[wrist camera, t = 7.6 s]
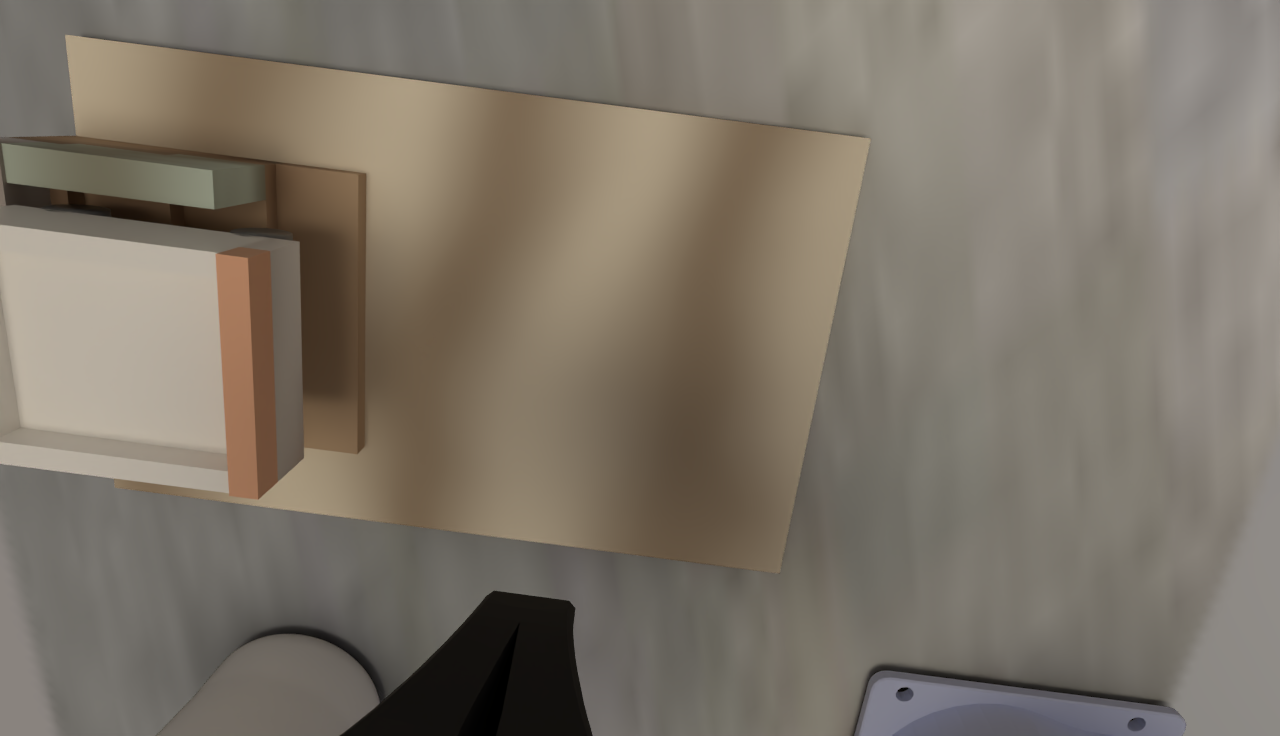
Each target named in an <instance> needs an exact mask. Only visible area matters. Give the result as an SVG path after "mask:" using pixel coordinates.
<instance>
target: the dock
mask: <svg viewBox="0 0 1280 736" xmlns="http://www.w3.org/2000/svg"><path fill="white" fill-rule="evenodd" d="M65 37H66V47H67V56H68V65H69V74H70V83H71V92H72V101H73V110H74V119H75V128H76V136H47V137H0V207H1V206H9V205H20V206H28V207H35V208H41V207H43V206H48V205H59V204H78V205H93V206H101V207H106V208H109V209H111V216H112V217H113V218H120V219H128V220H136V221H144V222H151V223H159V224H167V225H175V226H182V227H190V228H198V229H206V230H213V231H221V232H229V233H230V231H231V230H233V229H238V228H271V229H279V230H284V231H288V232H291V233H292V234H293V241H298V242H300V290H301V337H302V385H303V432H304V459H303V460H302V461H300V462H299V463H298V464H297V465H296V466H295V467H294V468H293V469H292V470H290V471H289V472H288V473H287V474H286V475H285V476H284V477H283V478H282V479H281V480H279V481H278V482H277V483H276V484H275V485H274V486H273V487H272V488H271V489H270V490H268V491H267V492H266V493H265V494H264V495H263V496H262V497H261V498H260V499H259V500H256V499H249V498H241V497H233V496H229V493H223V492H215V491H207V490H200V489H192V488H184V487H176V486H169V485H161V484H153V483H146V482H138V481H130V480H122V479H115V478H114V483H115V488H122V489H130V490H138V491H146V492H153V493H161V494H169V495H176V496H184V497H192V498H200V499H207V500H215V501H223V502H230V503H238V504H246V505H254V506H261V507H269V508H277V509H284V510H292V511H300V512H308V513H315V514H323V515H331V516H339V517H346V518H354V519H362V520H369V521H377V522H385V523H393V524H400V525H408V526H416V527H423V528H431V529H439V530H447V531H454V532H462V533H470V534H477V535H485V536H493V537H501V538H508V539H516V540H524V541H531V542H539V543H547V544H555V545H562V546H570V547H578V548H585V549H593V550H601V551H609V552H616V553H624V554H632V555H639V556H647V557H655V558H663V559H670V560H678V561H686V562H693V563H701V564H709V565H717V566H724V567H732V568H740V569H747V570H755V571H763V572H771V573H778V574H780V569H781V564H782V560H783V555H784V550H785V545H786V540H787V536H788V531H789V526H790V521H791V517H792V512H793V507H794V502H795V498H796V493H797V488H798V483H799V479H800V474H801V469H802V464H803V460H804V455H805V450H806V445H807V440H808V436H809V431H810V426H811V421H812V417H813V412H814V407H815V402H816V398H817V393H818V388H819V383H820V379H821V374H822V369H823V364H824V360H825V355H826V350H827V345H828V340H829V336H830V331H831V326H832V321H833V317H834V312H835V307H836V302H837V298H838V293H839V288H840V283H841V279H842V274H843V269H844V264H845V260H846V255H847V250H848V245H849V241H850V236H851V231H852V226H853V221H854V217H855V212H856V207H857V202H858V198H859V193H860V188H861V183H862V179H863V174H864V169H865V164H866V160H867V155H868V150H869V145H870V141H871V139H870V138H862V137H854V136H846V135H839V134H831V133H823V132H815V131H808V130H800V129H792V128H784V127H777V126H769V125H761V124H753V123H746V122H738V121H730V120H722V119H714V118H707V117H699V116H691V115H683V114H676V113H668V112H660V111H652V110H645V109H637V108H629V107H621V106H614V105H606V104H598V103H590V102H583V101H575V100H567V99H559V98H552V97H544V96H536V95H528V94H521V93H513V92H505V91H497V90H489V89H482V88H474V87H466V86H458V85H451V84H443V83H435V82H427V81H420V80H412V79H404V78H396V77H389V76H381V75H373V74H365V73H358V72H350V71H342V70H334V69H327V68H319V67H311V66H303V65H296V64H288V63H280V62H272V61H265V60H257V59H249V58H241V57H233V56H226V55H218V54H210V53H202V52H195V51H187V50H179V49H171V48H164V47H156V46H148V45H140V44H133V43H125V42H117V41H109V40H102V39H94V38H86V37H78V36H71V35H65Z"/></svg>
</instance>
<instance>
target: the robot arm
mask: <svg viewBox="0 0 1280 736" xmlns="http://www.w3.org/2000/svg"><path fill="white" fill-rule="evenodd" d="M574 615H575V607H574V606H573V605H572V604H571V603H570V601H566V600H558V599H551V598H544V597H536V596H529V595H522V594H514V593H507V592H500V591H493V592H492V593H490V594H489V595H487V596H486V597H485V598H484V600H483V601H482V602H481V603H480V605H479V606H478V607H477V608H476V609H475V610H474V611H473V613H472V614H471V615H470V616H469V617H468V618H467V619H466V621H465V622H464V623H463V624H462V625H461V626H460V627H459V628H458V629H457V630H456V631H455V632H454V633H453V635H452V636H451V637H450V638H449V639H448V640H447V641H446V642H445V643H444V644H443V645H442V646H441V647H440V648H439V649H438V650H437V651H436V652H435V653H434V654H433V655H432V656H431V657H430V658H429V659H428V660H427V661H426V662H425V663H424V664H423V665H422V666H421V667H420V668H419V669H418V670H417V671H416V672H414V673H413V674H412V675H411V676H410V677H409V678H408V679H407V680H406V681H405V682H403V683H402V684H401V685H400V686H399V687H398V688H397V689H395V690H394V691H393V692H392V693H391V694H390V695H389V696H388V697H386V698H385V699H384V700H383V701H382V702H381V703H380V704H378V705H377V706H376V707H375V708H374V709H373V710H371V711H370V712H369V713H368V714H367V715H365V716H364V717H363V718H362V719H360V720H359V721H358V722H357V723H355V724H354V725H353V726H351V727H350V728H349V729H348V730H346V731H345V732H344V733H342V734H341V735H340V736H593V735H592V732H591V728H590V725H589V721H588V718H587V714H586V710H585V706H584V701H583V697H582V692H581V687H580V682H579V677H578V672H577V666H576V659H575V650H574V640H573V623H574ZM903 687H908V689H907V690H906V691H904V692H897V691H898V690H899V689H900V688H903ZM1133 718H1135V719H1134V720H1132V721H1130V720H1131V719H1133ZM1185 728H1186V723H1185V720H1184V719H1183V717H1182V716H1181V715H1180V714H1179V713H1178V712H1177V711H1176V710H1175V709H1173V708H1170V707H1165V706H1158V705H1150V704H1142V703H1135V702H1127V701H1119V700H1112V699H1104V698H1096V697H1088V696H1081V695H1073V694H1065V693H1058V692H1050V691H1042V690H1034V689H1027V688H1019V687H1011V686H1004V685H996V684H988V683H981V682H973V681H965V680H957V679H950V678H942V677H934V676H927V675H919V674H911V673H903V672H896V671H880V672H877V673H875V674H874V675H873V676H872V677H871V678H870V680H869V682H868V686H867V690H866V694H865V697H864V701H863V705H862V709H861V712H860V716H859V720H858V723H857V727H856V731H855V735H854V736H1182V735H1183V734H1184V731H1185Z"/></svg>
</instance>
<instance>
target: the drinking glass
mask: <svg viewBox="0 0 1280 736" xmlns="http://www.w3.org/2000/svg"><path fill="white" fill-rule="evenodd" d="M378 704H380V700H379V697H378V693H377V690H376V688H375V685H374V683H373V681H372V679H371V678H370V676H369V675H368V673H367V672H366V671H365V669H364V668H363V667H362V666H361V665H360V664H359V663H358V662H357V661H356V660H355V659H354V658H353V657H352V656H351V655H349V654H348V653H347V652H345V651H344V650H342V649H341V648H339V647H337V646H335V645H333V644H331V643H329V642H327V641H324V640H322V639H319V638H315V637H312V636H307V635H301V634H275V635H269V636H265V637H261V638H258V639H256V640H253V641H251V642H249V643H247V644H245V645H243V646H242V647H240V648H238V649H237V650H236V651H234V652H233V653H232V654H231V655H229V656H228V657H227V658H226V659H225V660H224V661H223V662H222V663H221V664H220V666H219V667H218V668H217V669H216V670H215V671H214V673H213V674H212V675H211V676H210V677H209V679H208V680H207V681H206V682H205V683H204V685H203V686H202V687H201V688H200V689H199V691H198V692H197V693H196V694H195V695H194V696H193V698H192V699H191V700H190V701H189V702H188V703H187V704H186V705H185V706H184V707H183V708H182V709H181V710H180V711H179V712H178V713H177V714H176V715H175V716H174V717H173V718H172V719H171V720H170V721H169V722H168V723H167V724H166V726H165V727H164V728H163V729H162V730H161V731H160V732H159V733H158V734H157V735H156V736H340V735H341V734H342V733H344V732H345V731H346V730H348V729H349V728H350V727H351V726H353V725H354V724H355V723H357V722H358V721H359V720H360V719H362V718H363V717H364V716H365V715H367V714H368V713H369V712H370V711H371V710H373V709H374V708H375V707H376V706H377V705H378Z"/></svg>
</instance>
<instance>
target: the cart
mask: <svg viewBox="0 0 1280 736" xmlns="http://www.w3.org/2000/svg"><path fill="white" fill-rule="evenodd" d="M303 459H304V432H303V385H302V337H301V290H300V242H298V241H293V234H292V233H291V232H288V231H284V230H279V229H271V228H238V229H233V230H231V231H230V233H229V232H221V231H213V230H206V229H198V228H190V227H182V226H175V225H167V224H159V223H151V222H144V221H136V220H128V219H120V218H113V217H112V216H111V209H109V208H106V207H101V206H93V205H78V204H59V205H48V206H43V207H41V208H35V207H28V206H20V205H9V206H1V207H0V464H7V465H14V466H22V467H30V468H38V469H45V470H53V471H61V472H68V473H76V474H84V475H92V476H99V477H107V478H115V479H122V480H130V481H138V482H146V483H153V484H161V485H169V486H176V487H184V488H192V489H200V490H207V491H215V492H223V493H229V496H233V497H241V498H249V499H256V500H259V499H260V498H261V497H262V496H263V495H264V494H265V493H266V492H267V491H268V490H270V489H271V488H272V487H273V486H274V485H275V484H276V483H277V482H278V481H279V480H281V479H282V478H283V477H284V476H285V475H286V474H287V473H288V472H289V471H290V470H292V469H293V468H294V467H295V466H296V465H297V464H298V463H299V462H300V461H302V460H303Z"/></svg>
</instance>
